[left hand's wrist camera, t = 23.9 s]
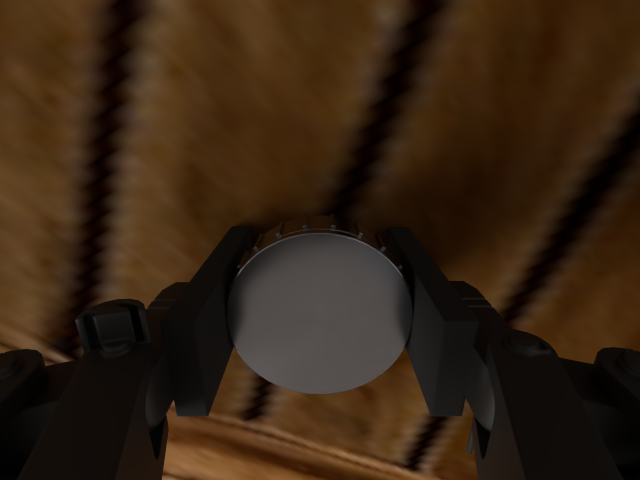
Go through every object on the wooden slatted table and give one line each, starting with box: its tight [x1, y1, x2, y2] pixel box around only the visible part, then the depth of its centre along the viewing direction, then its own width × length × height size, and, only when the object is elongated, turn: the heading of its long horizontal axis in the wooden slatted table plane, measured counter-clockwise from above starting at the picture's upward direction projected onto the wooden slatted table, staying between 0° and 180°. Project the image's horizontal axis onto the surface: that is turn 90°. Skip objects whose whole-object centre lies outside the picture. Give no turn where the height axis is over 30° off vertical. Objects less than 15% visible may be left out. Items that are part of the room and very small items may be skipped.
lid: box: [226, 214, 413, 394], centre depth 11 cm, size 6×6×2 cm
